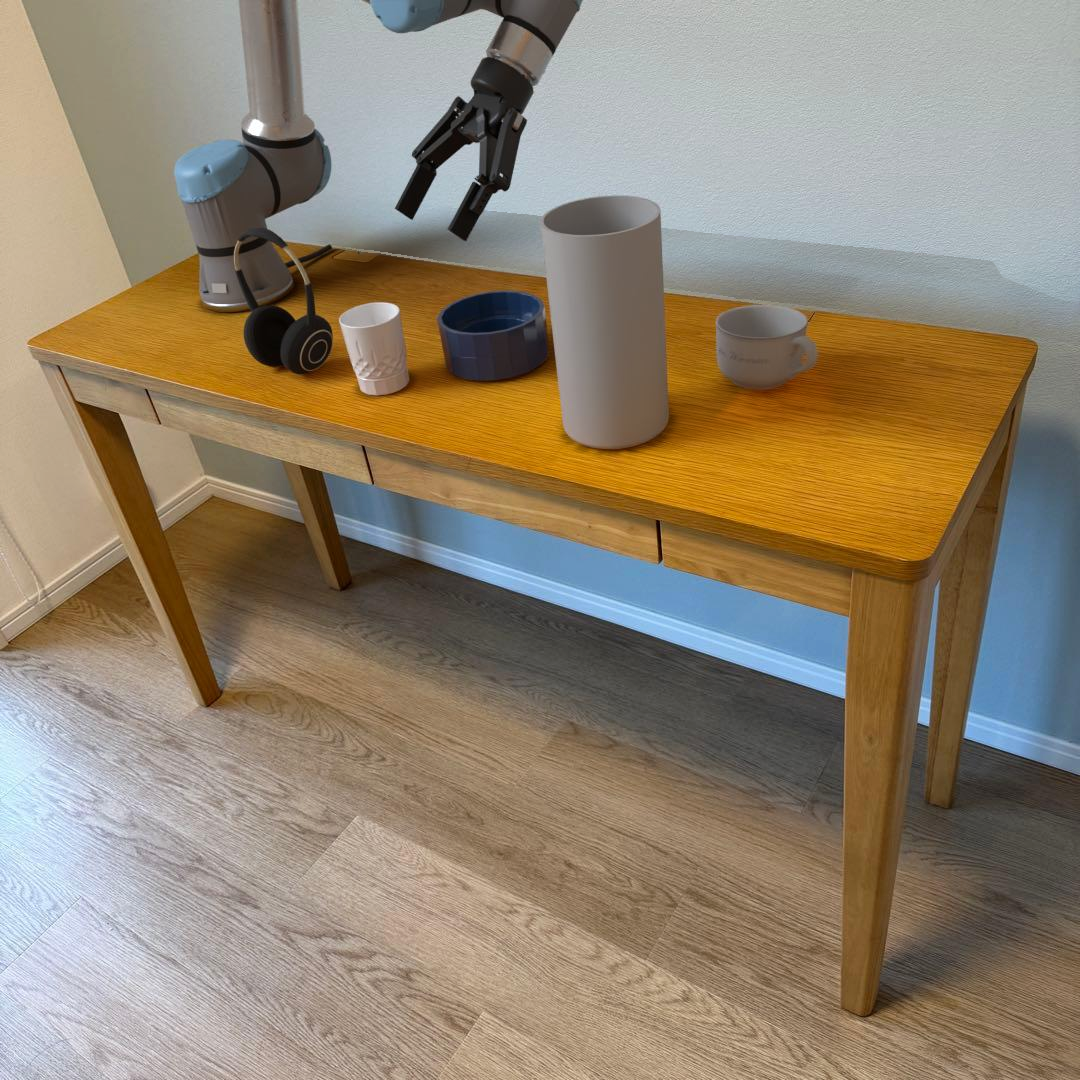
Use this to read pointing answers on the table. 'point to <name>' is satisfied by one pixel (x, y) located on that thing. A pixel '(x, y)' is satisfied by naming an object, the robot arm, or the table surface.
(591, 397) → the cylinder vase
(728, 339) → the teacup
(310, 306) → the headphones
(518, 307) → the navy blue bowl
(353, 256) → the table surface
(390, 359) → the white cup
